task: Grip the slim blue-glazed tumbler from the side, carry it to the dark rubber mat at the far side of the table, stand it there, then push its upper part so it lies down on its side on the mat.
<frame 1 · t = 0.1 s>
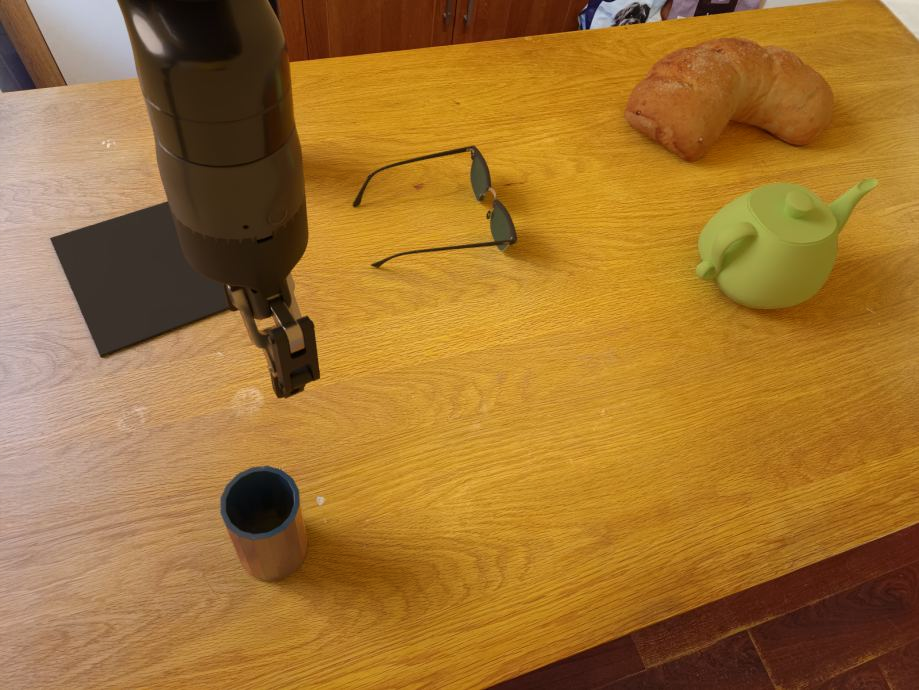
hand: (265, 346, 55), 21 cm above the table, tool pointing down, fingers open, 8 cm apart
sunglasses: (428, 227, 92), on the table
bread: (714, 114, 112), on the table
teapot: (756, 272, 94), on the table
tumbler: (273, 547, 67), on the table
cup: (252, 166, 94), on the table
mat: (148, 270, 83), on the table
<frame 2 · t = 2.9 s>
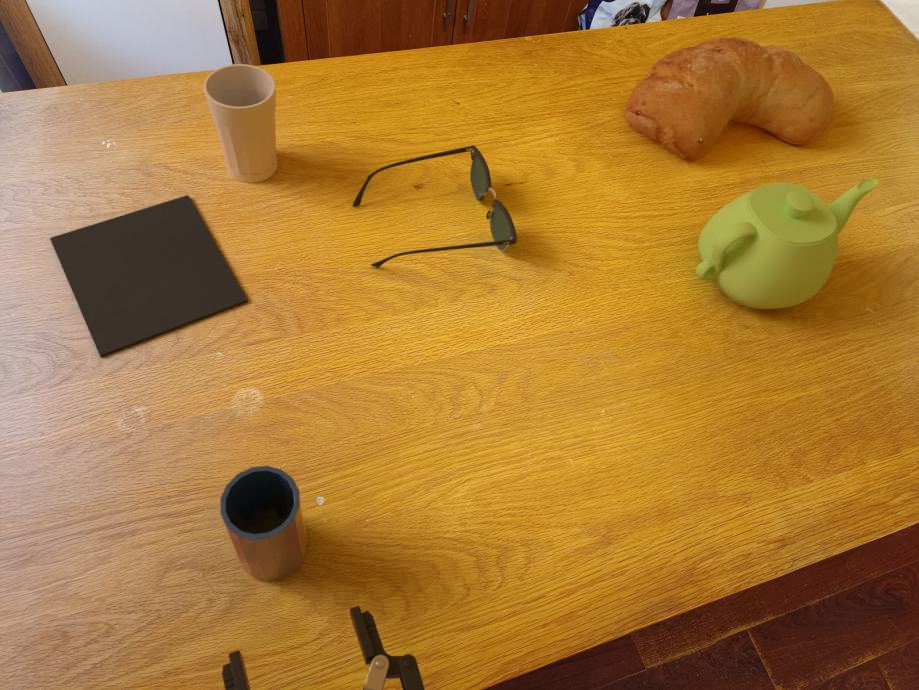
hand: (295, 631, 52), 12 cm above the table, tool horizontal, fingers open, 8 cm apart
nothing on the table moved.
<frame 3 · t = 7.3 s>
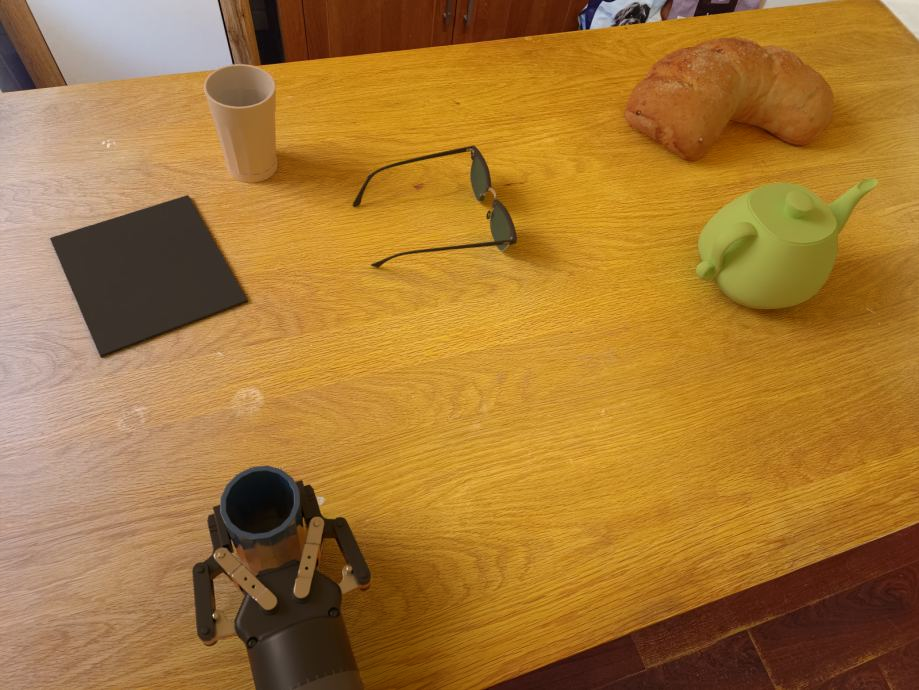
hand: (259, 497, 63), 7 cm above the table, tool horizontal, fingers closed on tumbler, 6 cm apart
tumbler: (273, 547, 67), on the table, touching gripper
everything else where it was.
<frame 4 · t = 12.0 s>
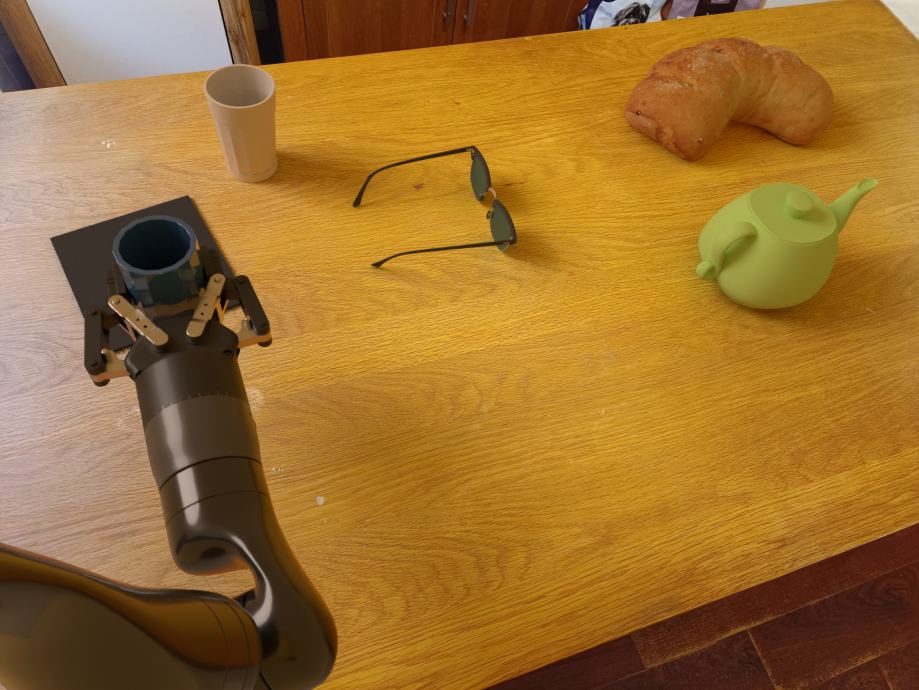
hand: (162, 259, 62), 18 cm above the table, tool horizontal, fingers closed on tumbler, 6 cm apart
tumbler: (182, 326, 66), point 11 cm above the table, touching gripper
everything else where it was.
when the fingers open (7 cm above the table, at t = 17.2 s): tumbler stays where it is, resting on mat.
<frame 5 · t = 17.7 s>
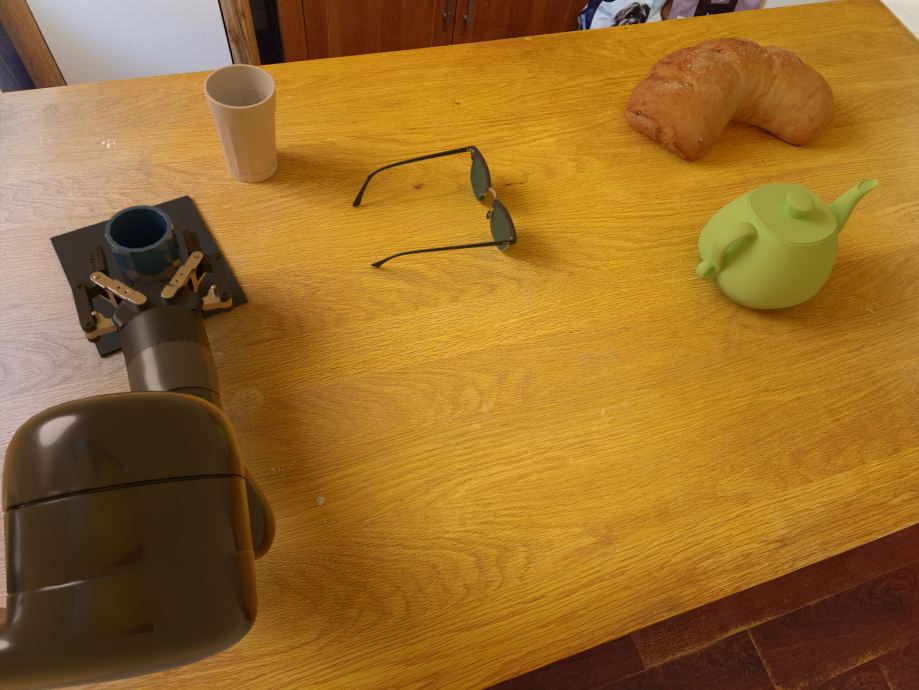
hand: (143, 241, 76), 7 cm above the table, tool horizontal, fingers open, 8 cm apart
tumbler: (163, 296, 81), resting on mat
everything else where it was.
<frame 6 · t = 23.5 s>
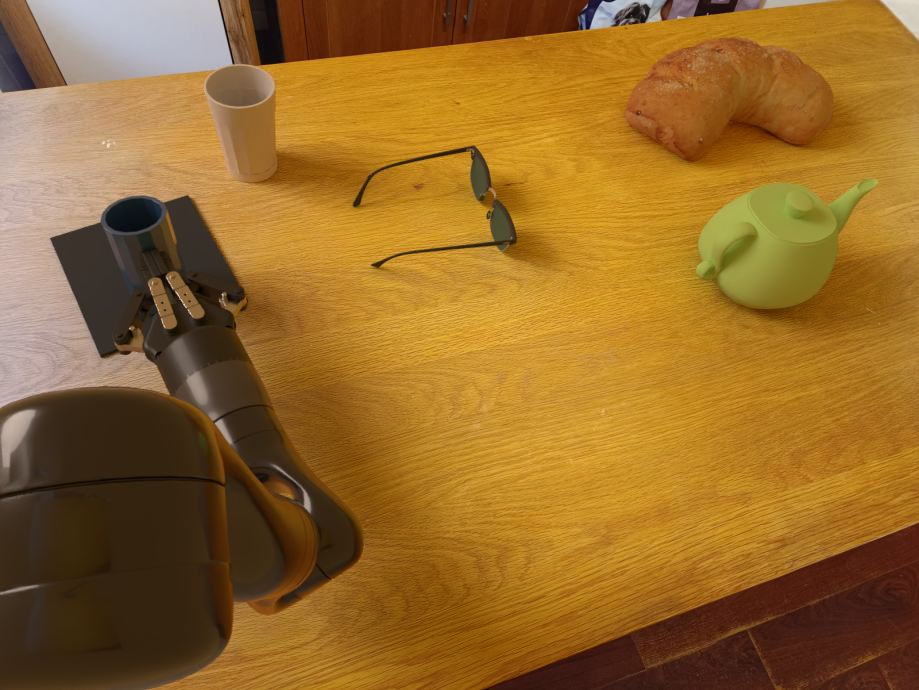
hand: (150, 255, 73), 9 cm above the table, tool horizontal, fingers closed
tumbler: (162, 294, 81), point 1 cm above the table, tilted 8°, touching mat
everything else where it was.
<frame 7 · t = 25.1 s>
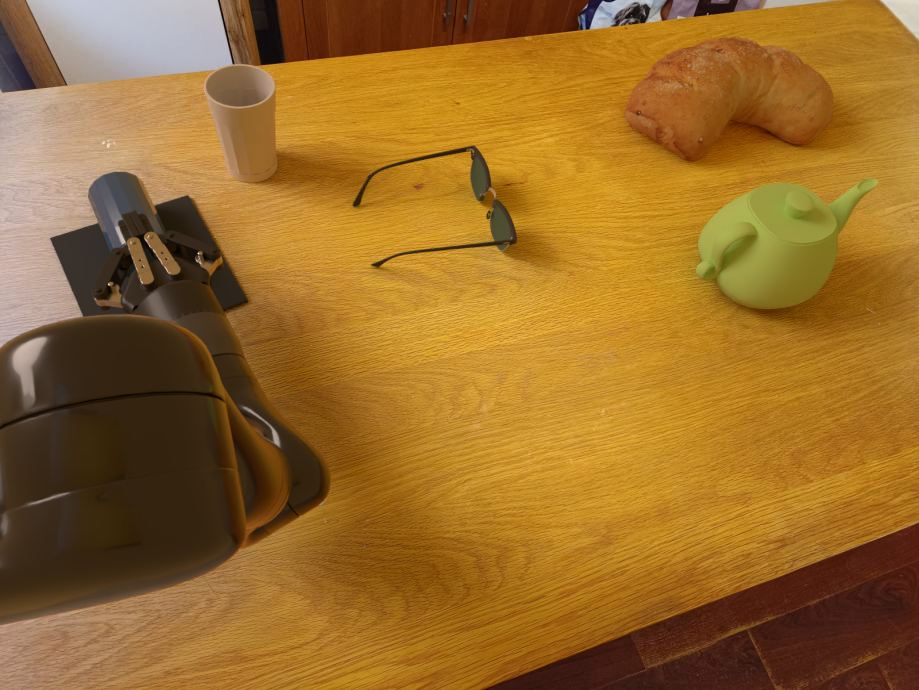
hand: (130, 218, 76), 9 cm above the table, tool horizontal, fingers closed
tumbler: (146, 259, 80), point 3 cm above the table, tilted 90°, touching mat
everything else where it was.
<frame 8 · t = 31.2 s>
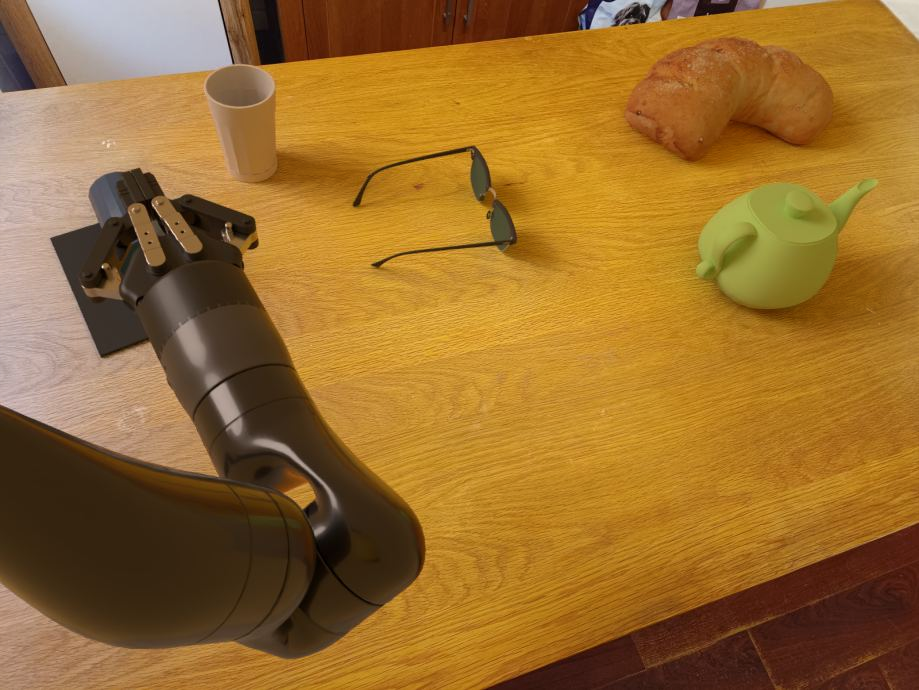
hand: (132, 178, 56), 26 cm above the table, tool horizontal, fingers closed
nothing on the table moved.
at the end: tumbler tilted 90°; tumbler inside the target area on the mat (2.0 cm from its centre), point 3.4 cm above the mat's base; the gripper is holding nothing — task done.
